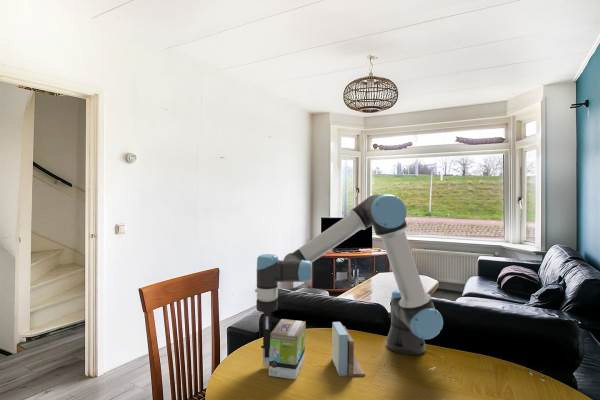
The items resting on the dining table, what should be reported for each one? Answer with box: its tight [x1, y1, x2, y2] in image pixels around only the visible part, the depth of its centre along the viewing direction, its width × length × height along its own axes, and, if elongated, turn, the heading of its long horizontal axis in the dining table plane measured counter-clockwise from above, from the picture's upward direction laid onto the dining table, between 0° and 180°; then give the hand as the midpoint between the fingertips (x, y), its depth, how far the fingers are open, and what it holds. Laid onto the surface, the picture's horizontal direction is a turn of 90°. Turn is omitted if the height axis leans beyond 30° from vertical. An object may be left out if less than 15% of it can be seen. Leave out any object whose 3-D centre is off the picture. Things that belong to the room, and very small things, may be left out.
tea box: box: [268, 318, 307, 380], centre depth 122 cm, size 15×10×15 cm
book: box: [331, 321, 348, 377], centre depth 123 cm, size 3×12×14 cm, turn 6°
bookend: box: [342, 325, 366, 378], centre depth 123 cm, size 6×14×12 cm, turn 6°
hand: (266, 364), depth 121 cm, fingers closed
